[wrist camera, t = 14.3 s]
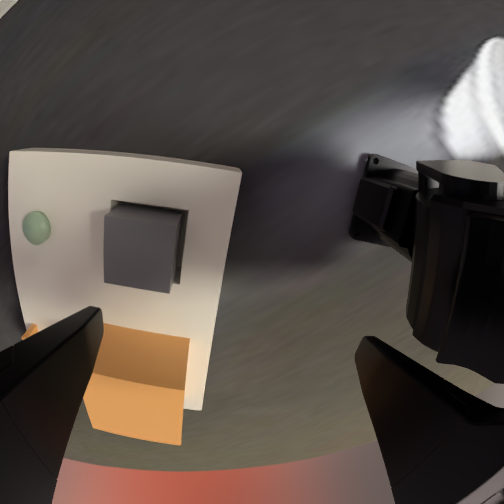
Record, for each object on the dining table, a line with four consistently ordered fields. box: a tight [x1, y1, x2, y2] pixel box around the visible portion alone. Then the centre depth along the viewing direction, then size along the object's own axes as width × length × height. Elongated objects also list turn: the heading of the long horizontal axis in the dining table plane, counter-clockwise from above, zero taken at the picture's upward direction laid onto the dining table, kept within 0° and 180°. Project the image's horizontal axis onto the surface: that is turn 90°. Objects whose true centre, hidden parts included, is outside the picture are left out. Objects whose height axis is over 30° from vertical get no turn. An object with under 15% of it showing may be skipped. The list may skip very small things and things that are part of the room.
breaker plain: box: [103, 203, 183, 294], centre depth 16 cm, size 4×4×3 cm
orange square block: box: [83, 323, 190, 445], centre depth 18 cm, size 7×7×5 cm
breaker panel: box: [8, 148, 242, 410], centre depth 18 cm, size 16×20×5 cm
